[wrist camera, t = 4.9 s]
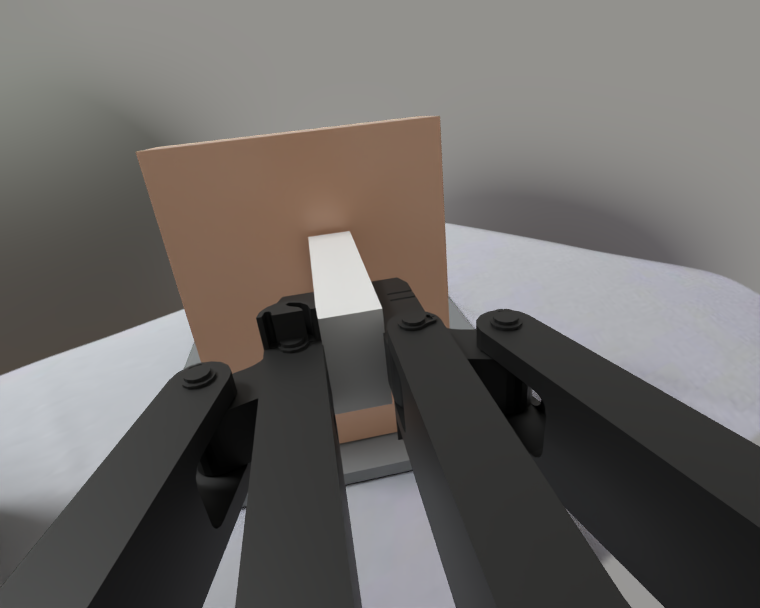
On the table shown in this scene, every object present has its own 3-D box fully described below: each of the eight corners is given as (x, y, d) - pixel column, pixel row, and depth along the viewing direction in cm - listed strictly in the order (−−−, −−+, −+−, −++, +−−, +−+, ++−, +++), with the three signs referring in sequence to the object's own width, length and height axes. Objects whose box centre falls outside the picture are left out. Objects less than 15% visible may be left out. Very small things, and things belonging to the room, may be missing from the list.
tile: (233, 465, 19) (135, 151, 14) (240, 423, 22) (160, 146, 17) (453, 420, 20) (439, 115, 15) (435, 385, 23) (418, 116, 18)
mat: (129, 531, 18) (124, 521, 17) (206, 324, 34) (204, 317, 33) (552, 439, 20) (553, 428, 19) (434, 286, 36) (434, 279, 36)
